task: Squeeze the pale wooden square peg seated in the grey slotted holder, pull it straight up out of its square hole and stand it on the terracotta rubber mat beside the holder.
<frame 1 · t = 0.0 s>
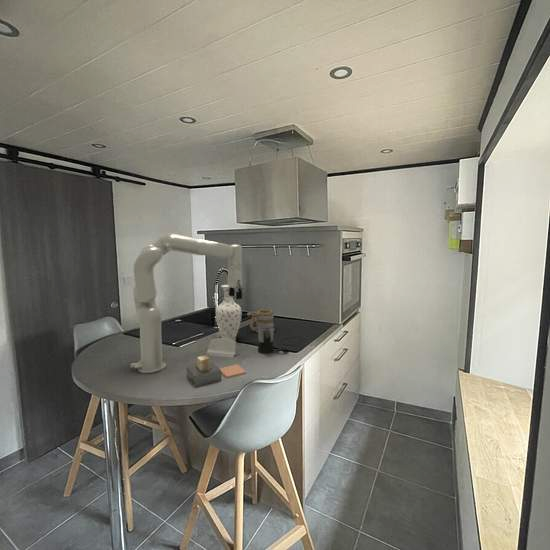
hand: (235, 297, 169), 31 cm above the countertop, tool pointing down, fingers open, 9 cm apart
vase: (228, 340, 190), on the countertop
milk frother: (272, 351, 173), on the countertop
mat: (232, 371, 145), on the countertop
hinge: (222, 354, 168), on the countertop
tankard: (260, 332, 209), on the countertop
peg: (203, 368, 137), in the grey slotted holder
grey slotted holder: (203, 378, 138), on the countertop
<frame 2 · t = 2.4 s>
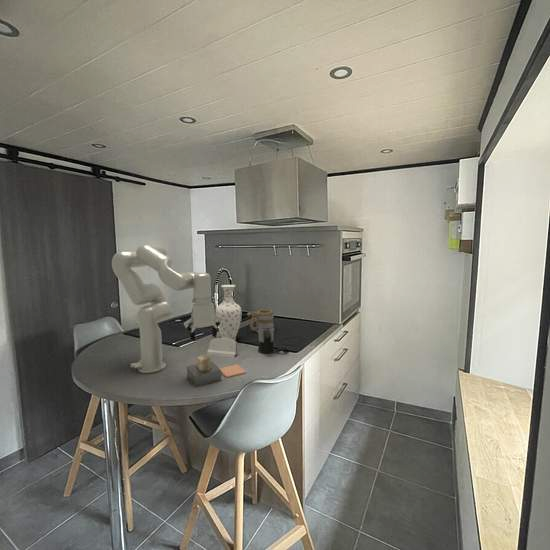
hand: (203, 338, 136), 19 cm above the countertop, tool pointing down, fingers open, 9 cm apart
nothing on the countertop moved.
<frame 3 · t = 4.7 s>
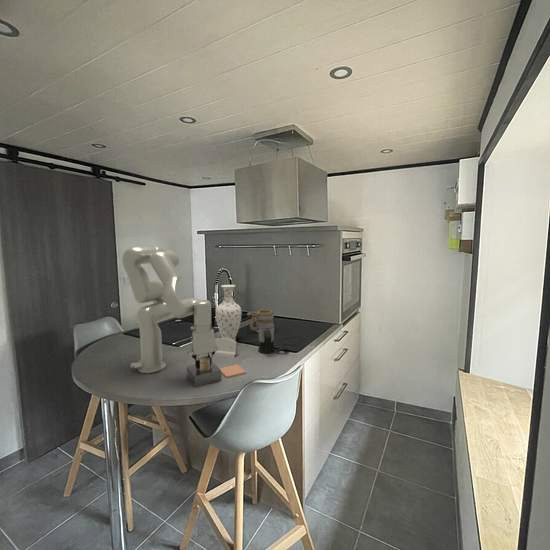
hand: (203, 366, 137), 6 cm above the countertop, tool pointing down, fingers closed on peg, 4 cm apart
peg: (203, 368, 137), in the grey slotted holder, touching gripper
everything else where it was.
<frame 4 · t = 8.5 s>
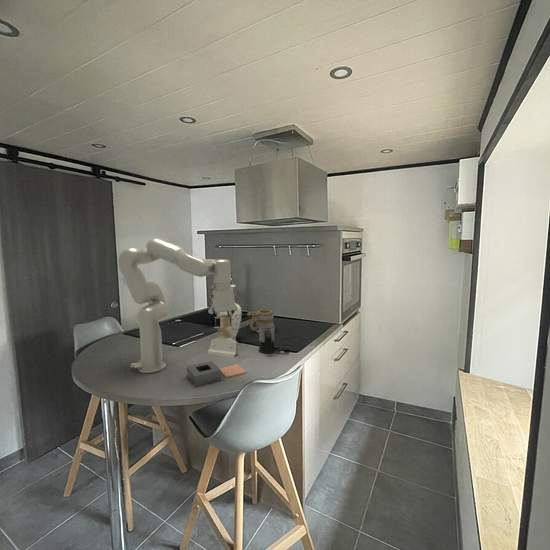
hand: (223, 324, 140), 24 cm above the countertop, tool pointing down, fingers closed on peg, 4 cm apart
peg: (223, 326, 140), point 23 cm above the countertop, touching gripper
everything else where it was.
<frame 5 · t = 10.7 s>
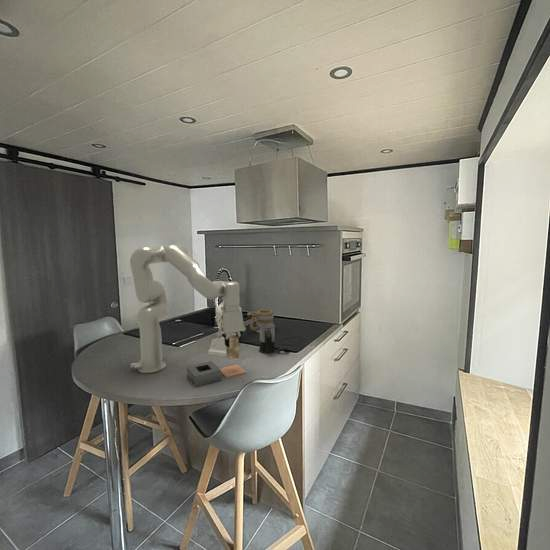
hand: (232, 345, 144), 13 cm above the countertop, tool pointing down, fingers closed on peg, 4 cm apart
peg: (232, 346, 144), point 12 cm above the countertop, touching gripper
everything else where it was.
when the fingers open (8 cm above the countertop, at t = 12.5 s): peg drops 1 cm, resting on mat.
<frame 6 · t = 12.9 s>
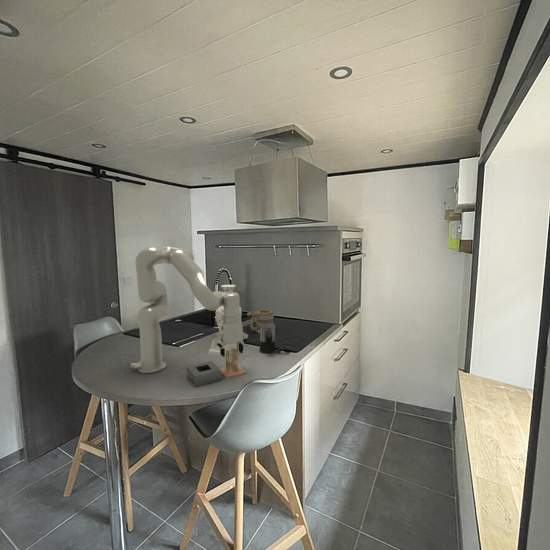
hand: (231, 353, 144), 9 cm above the countertop, tool pointing down, fingers open, 8 cm apart
peg: (231, 360, 145), on the mat, point 6 cm above the countertop
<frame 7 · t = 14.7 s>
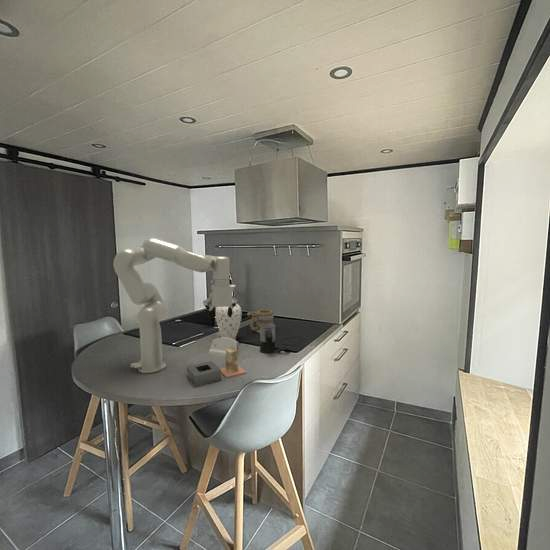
hand: (220, 317, 145), 26 cm above the countertop, tool pointing down, fingers open, 9 cm apart
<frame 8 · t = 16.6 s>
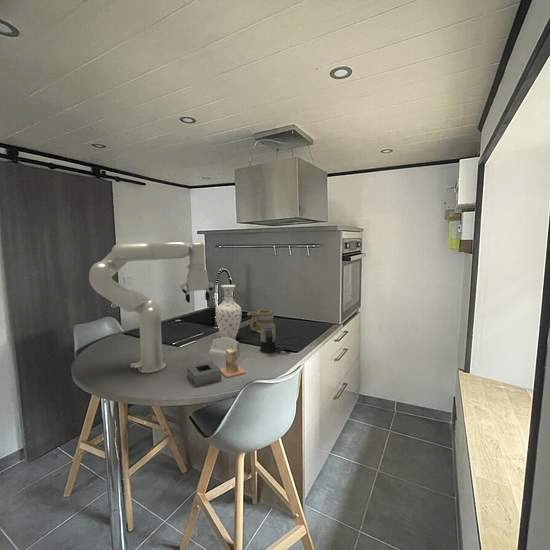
hand: (197, 301, 152), 32 cm above the countertop, tool pointing down, fingers open, 9 cm apart
at the end: peg 0.0 cm off-centre on the mat, point 5.8 cm above the mat's base; peg tilted 0°; the gripper is holding nothing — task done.
